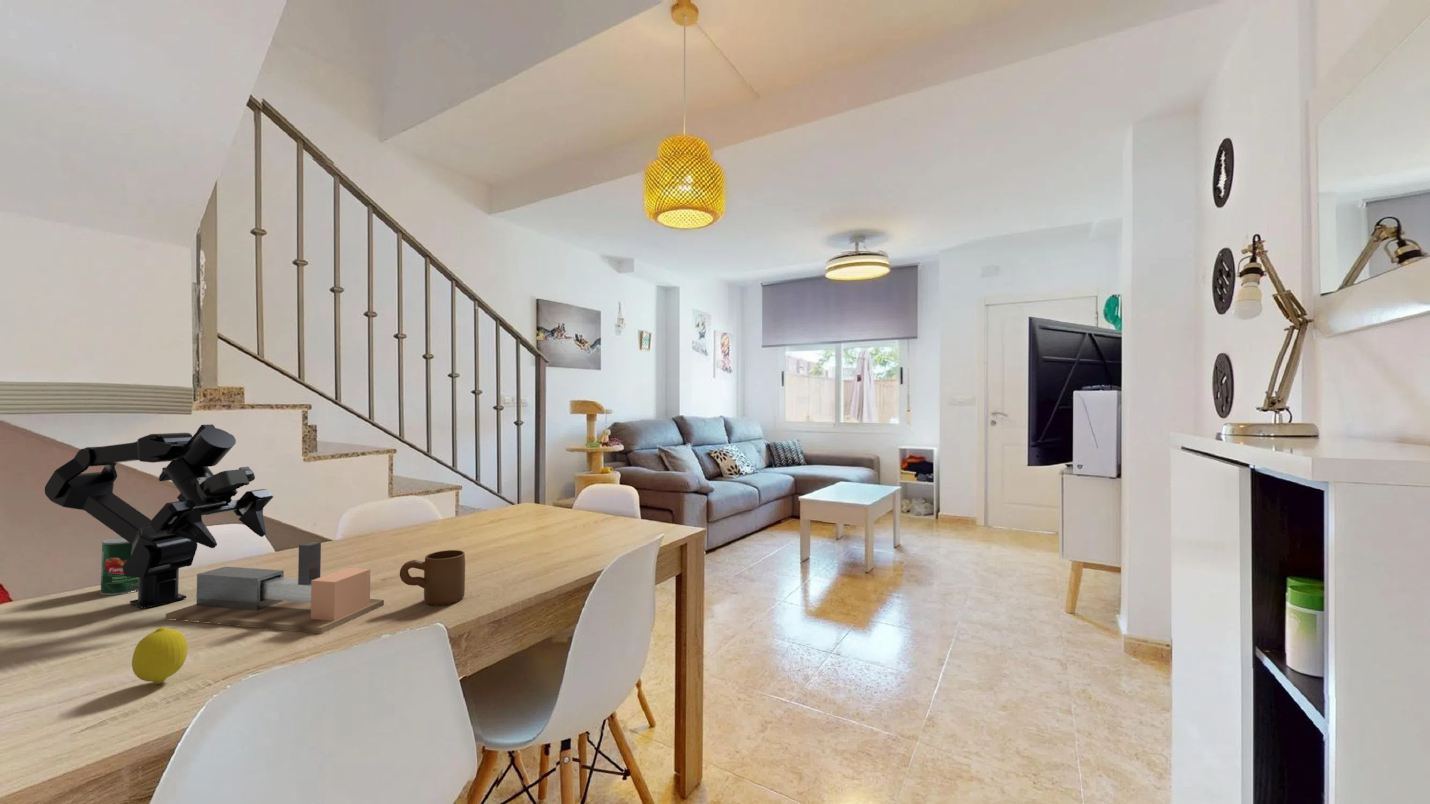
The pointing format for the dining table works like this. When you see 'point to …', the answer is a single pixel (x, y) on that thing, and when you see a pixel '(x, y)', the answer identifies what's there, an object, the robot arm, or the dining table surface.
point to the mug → (439, 576)
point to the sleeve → (234, 588)
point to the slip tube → (298, 586)
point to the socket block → (340, 593)
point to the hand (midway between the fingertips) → (240, 540)
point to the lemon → (159, 655)
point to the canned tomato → (116, 567)
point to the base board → (269, 616)
